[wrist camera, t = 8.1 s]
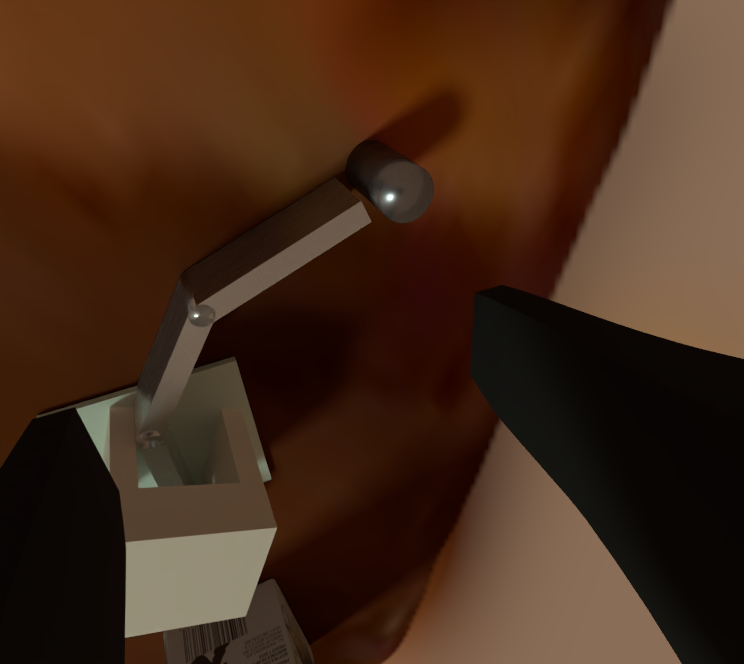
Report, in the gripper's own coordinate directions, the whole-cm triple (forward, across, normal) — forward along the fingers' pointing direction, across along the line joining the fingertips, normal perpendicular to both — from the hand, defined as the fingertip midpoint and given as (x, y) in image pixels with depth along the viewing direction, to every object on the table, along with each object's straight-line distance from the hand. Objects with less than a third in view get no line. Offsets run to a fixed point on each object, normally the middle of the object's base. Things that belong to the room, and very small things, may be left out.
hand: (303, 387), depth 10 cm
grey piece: (+10, -1, +7) cm, 12 cm away
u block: (+10, +4, +10) cm, 14 cm away
